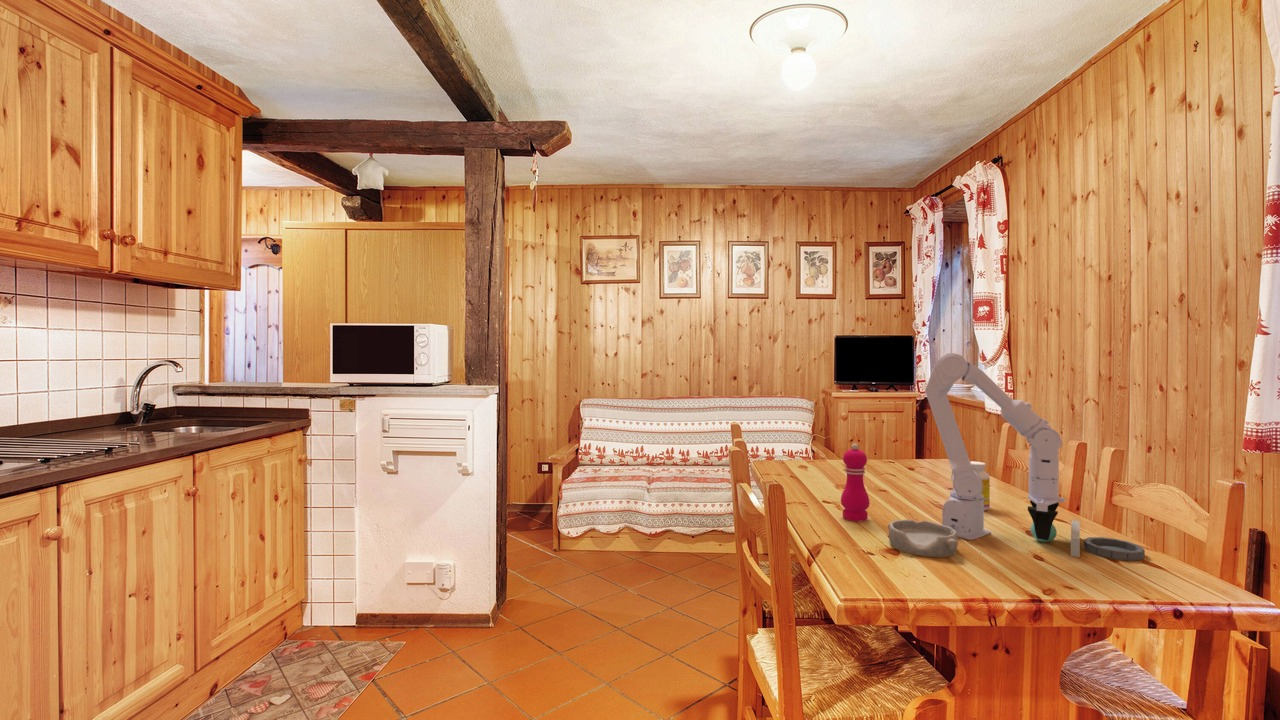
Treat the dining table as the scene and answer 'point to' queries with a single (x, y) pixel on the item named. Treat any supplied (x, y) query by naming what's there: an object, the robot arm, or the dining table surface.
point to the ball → (1051, 537)
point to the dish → (923, 538)
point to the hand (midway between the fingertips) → (1043, 535)
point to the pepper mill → (855, 486)
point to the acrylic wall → (1075, 538)
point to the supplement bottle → (985, 480)
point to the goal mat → (1114, 548)
